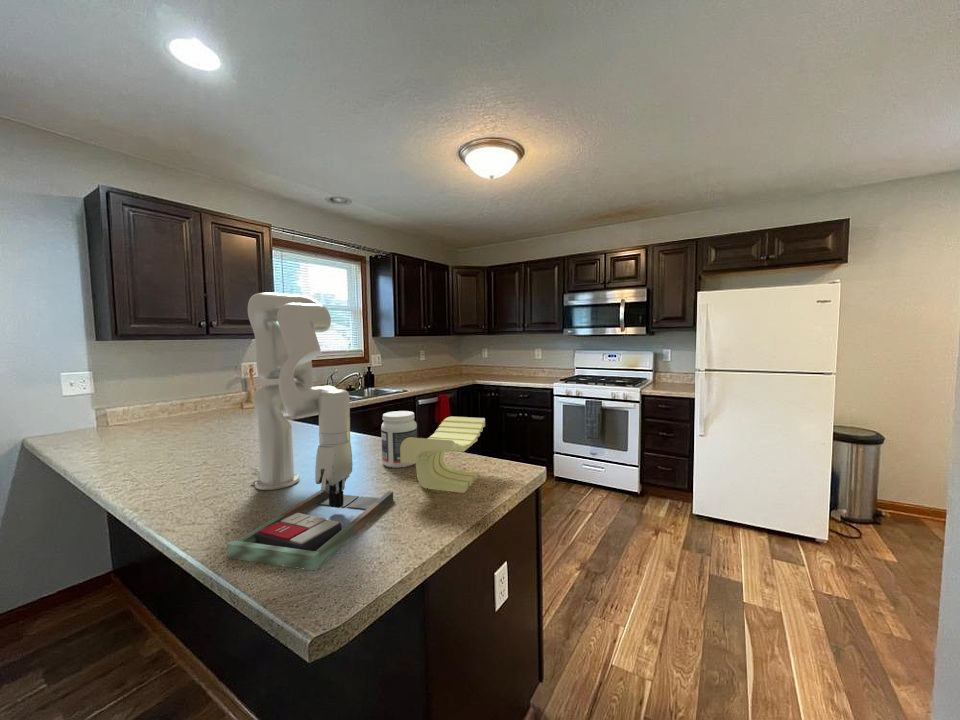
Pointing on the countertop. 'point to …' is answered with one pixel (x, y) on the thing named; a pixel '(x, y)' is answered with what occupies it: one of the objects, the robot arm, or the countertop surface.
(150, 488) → the countertop surface
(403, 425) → the supplement tub
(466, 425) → the slatted curved stool
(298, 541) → the calculator
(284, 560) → the channel
